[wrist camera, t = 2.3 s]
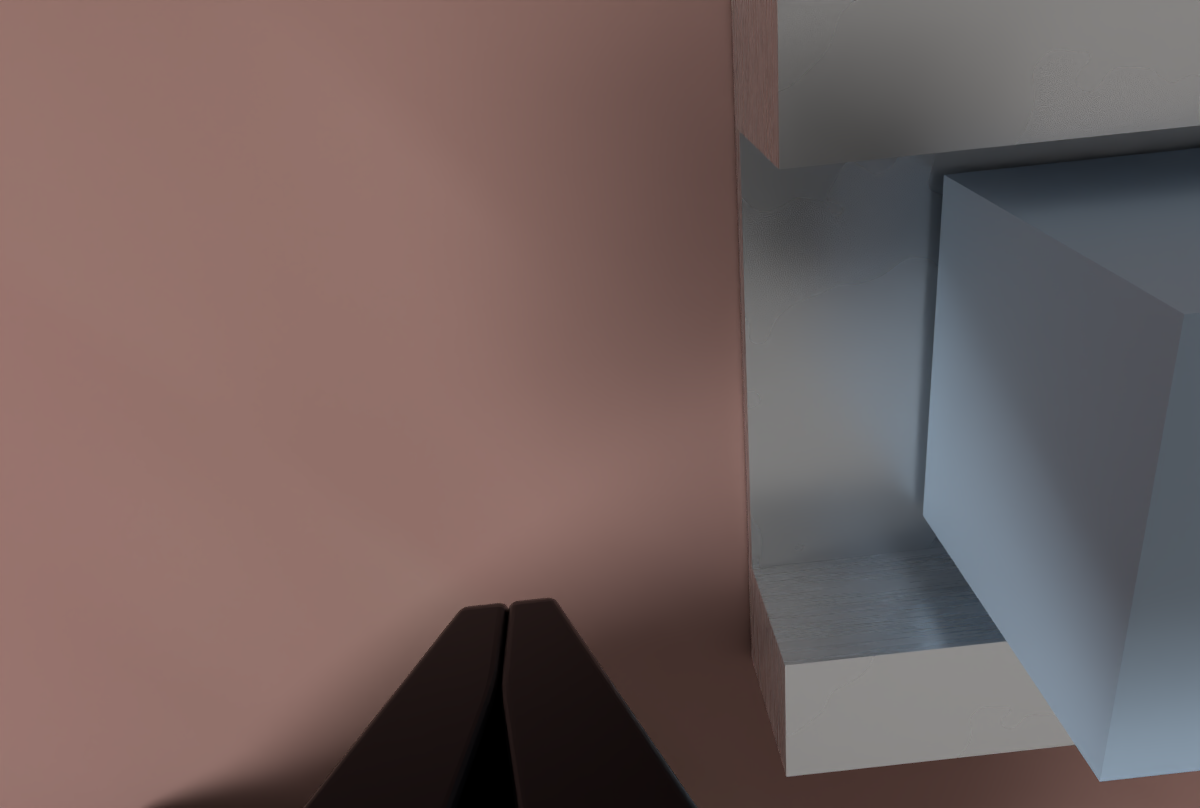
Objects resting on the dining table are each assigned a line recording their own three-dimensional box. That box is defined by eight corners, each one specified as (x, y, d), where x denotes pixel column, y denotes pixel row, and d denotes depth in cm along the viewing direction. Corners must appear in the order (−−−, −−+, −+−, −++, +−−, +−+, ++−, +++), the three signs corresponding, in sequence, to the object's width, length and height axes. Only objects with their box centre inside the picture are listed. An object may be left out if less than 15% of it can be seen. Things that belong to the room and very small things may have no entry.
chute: (751, 658, 16) (786, 776, 14) (729, -49, 11) (776, -45, 9) (1415, 585, 16) (1559, 690, 14) (1659, -145, 11) (1935, -164, 9)
